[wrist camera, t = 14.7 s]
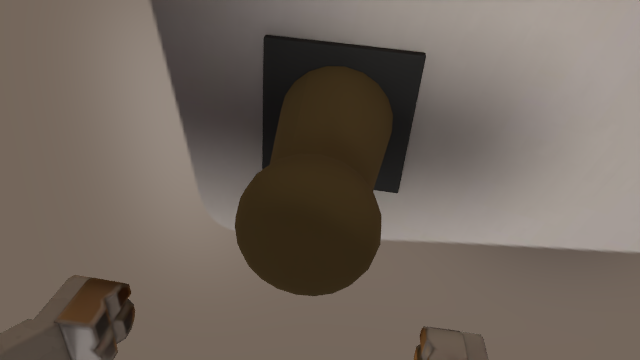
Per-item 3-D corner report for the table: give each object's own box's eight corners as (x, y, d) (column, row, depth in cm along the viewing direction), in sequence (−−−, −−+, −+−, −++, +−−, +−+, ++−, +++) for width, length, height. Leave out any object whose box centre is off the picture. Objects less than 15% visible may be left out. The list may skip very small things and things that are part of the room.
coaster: (264, 170, 27) (262, 174, 26) (266, 34, 22) (263, 36, 22) (397, 189, 26) (397, 193, 26) (425, 52, 22) (426, 55, 21)
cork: (398, 165, 25) (402, 321, 15) (293, 174, 26) (237, 324, 17) (387, 57, 22) (383, 169, 12) (269, 74, 23) (185, 186, 14)
